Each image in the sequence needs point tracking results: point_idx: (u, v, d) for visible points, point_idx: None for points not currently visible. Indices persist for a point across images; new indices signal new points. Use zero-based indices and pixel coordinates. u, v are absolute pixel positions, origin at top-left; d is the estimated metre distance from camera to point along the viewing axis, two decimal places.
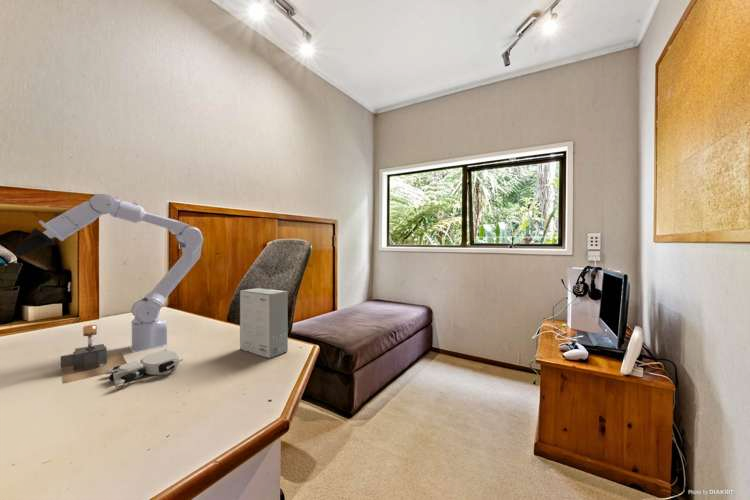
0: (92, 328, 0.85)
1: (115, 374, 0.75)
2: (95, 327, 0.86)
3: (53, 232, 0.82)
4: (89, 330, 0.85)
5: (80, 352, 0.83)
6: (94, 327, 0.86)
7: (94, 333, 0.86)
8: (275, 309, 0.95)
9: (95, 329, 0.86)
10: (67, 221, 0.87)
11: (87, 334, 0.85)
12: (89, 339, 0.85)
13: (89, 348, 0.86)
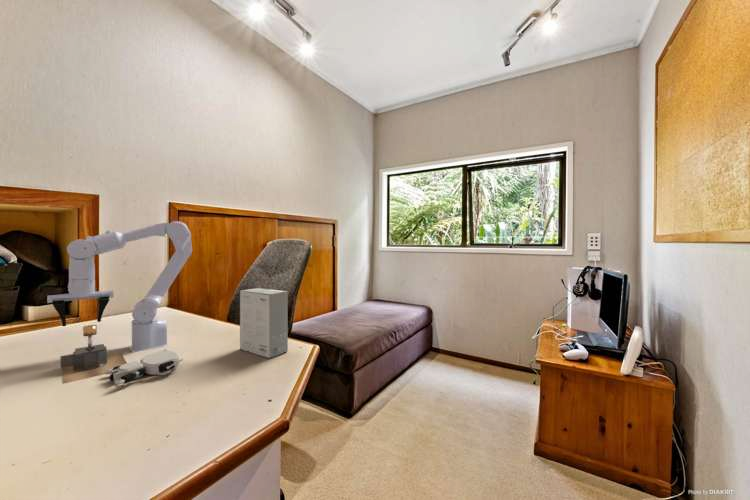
0: (92, 328, 0.85)
1: (115, 374, 0.75)
2: (95, 327, 0.86)
3: (47, 297, 0.88)
4: (89, 330, 0.85)
5: (80, 352, 0.83)
6: (94, 327, 0.86)
7: (94, 333, 0.86)
8: (275, 309, 0.95)
9: (95, 329, 0.86)
10: (69, 281, 0.91)
11: (87, 334, 0.85)
12: (89, 339, 0.85)
13: (89, 348, 0.86)
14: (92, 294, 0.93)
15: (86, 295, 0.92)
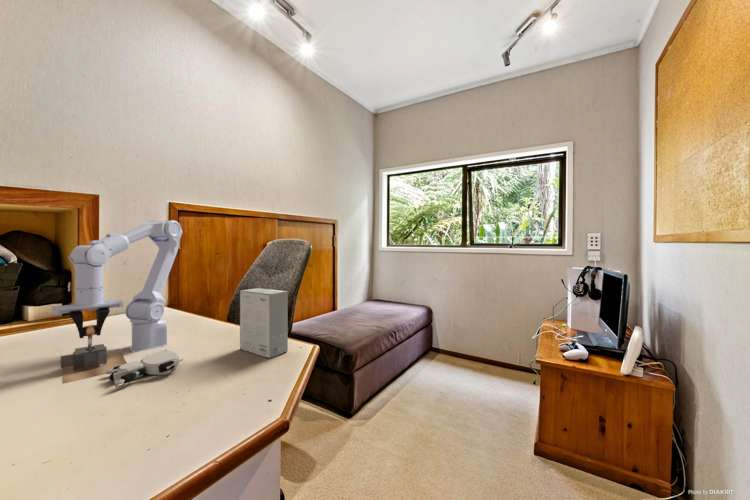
0: (92, 328, 0.85)
1: (115, 374, 0.75)
2: (95, 327, 0.86)
3: (52, 309, 0.80)
4: (89, 330, 0.85)
5: (80, 352, 0.83)
6: (94, 327, 0.86)
7: (94, 333, 0.86)
8: (275, 309, 0.95)
9: (95, 329, 0.86)
10: None
11: (87, 334, 0.85)
12: (89, 339, 0.85)
13: (89, 348, 0.86)
14: (101, 304, 0.86)
15: (95, 305, 0.84)
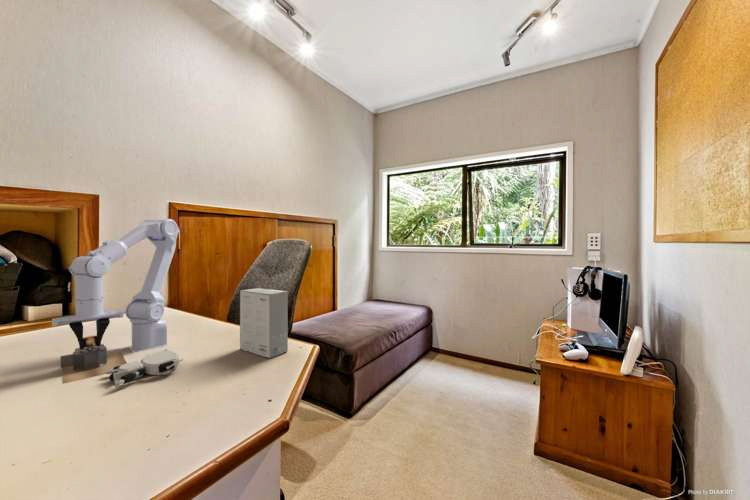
0: (93, 339, 0.85)
1: (115, 374, 0.75)
2: (95, 338, 0.86)
3: (52, 320, 0.80)
4: (89, 341, 0.85)
5: (80, 352, 0.83)
6: (94, 338, 0.86)
7: (94, 344, 0.86)
8: (275, 309, 0.95)
9: (95, 340, 0.86)
10: None
11: (87, 345, 0.85)
12: None
13: None
14: (101, 315, 0.86)
15: (95, 316, 0.84)
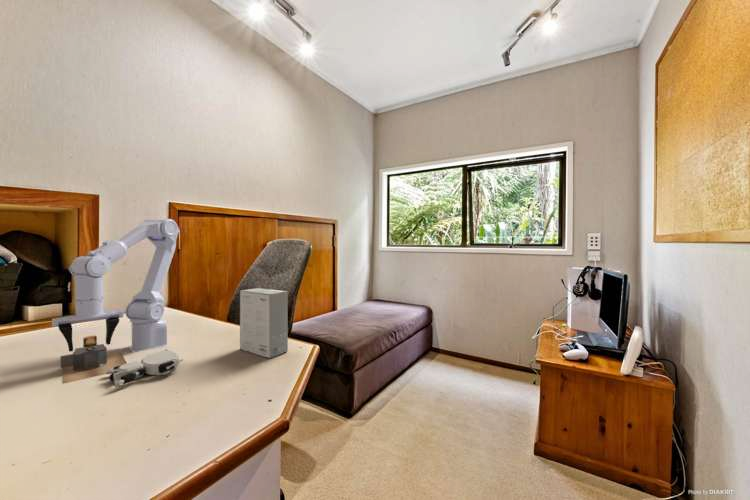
0: (93, 339, 0.85)
1: (115, 374, 0.75)
2: (95, 338, 0.86)
3: (52, 320, 0.80)
4: (89, 341, 0.85)
5: (80, 352, 0.83)
6: (94, 338, 0.86)
7: (94, 344, 0.86)
8: (275, 309, 0.95)
9: (95, 340, 0.86)
10: None
11: (87, 345, 0.85)
12: None
13: None
14: (101, 315, 0.86)
15: (95, 316, 0.84)
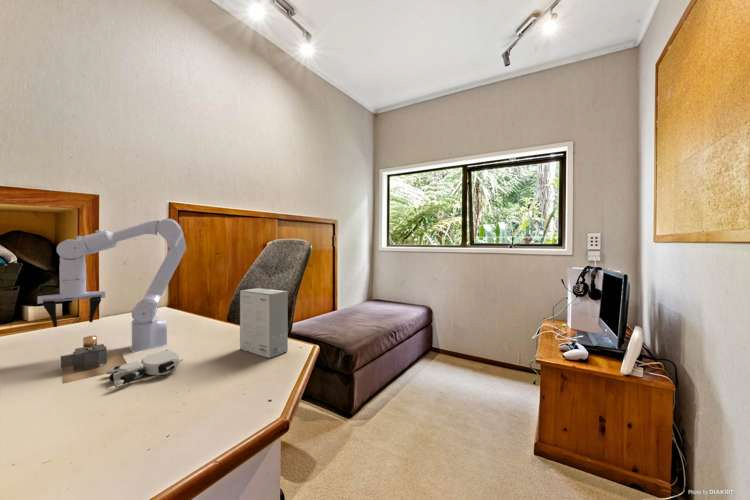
0: (93, 339, 0.85)
1: (115, 374, 0.75)
2: (95, 338, 0.86)
3: None
4: (89, 341, 0.85)
5: (80, 352, 0.83)
6: (94, 338, 0.86)
7: (94, 344, 0.86)
8: (275, 309, 0.95)
9: (95, 340, 0.86)
10: None
11: (87, 345, 0.85)
12: None
13: None
14: (83, 294, 0.92)
15: (77, 295, 0.91)
